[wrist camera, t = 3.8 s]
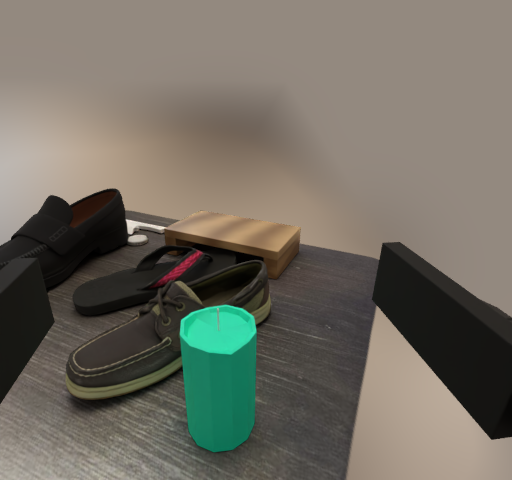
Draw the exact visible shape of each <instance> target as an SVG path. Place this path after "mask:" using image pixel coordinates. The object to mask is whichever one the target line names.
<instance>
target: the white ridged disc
mask: <svg viewBox="0 0 512 480" xmlns="http://www.w3.org/2000/svg"><path fill="white" fill-rule="evenodd" d="M147 242H148V237H147V236H145V235H135V236H131V237H129V238H128V241H127V244H129V245H142V244H145V243H147Z"/></svg>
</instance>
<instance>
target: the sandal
mask: <svg viewBox="0 0 512 480" xmlns="http://www.w3.org/2000/svg"><path fill="white" fill-rule="evenodd" d="M170 251H183V252H189V253H188V254H186V255H185V256H184V257H183V258H182V259H181V260H178V261H174V262H166V263H160V264H156V262H157V261H158V260H159V259H160V258H161V257H162V256H163V255H164V254H166V253H168V252H170ZM236 264H237V261H236V255H235V252H234V251H232V250H228V249H223V248H216V249H212V250H208V251H204V252H200V251H199V250H197V249H194V248H191V247H187V246H174V245H166V246H163V247H160V248H158V249H156V250H155V251H153V252H152V253H150V254H149V255H147V256H146V257H144V258H143V259H142V260H141V261H140V263H139V264H138V266H137V268H133V269H128V270H123V271H119V272H116V273H113V274H111V275H108V276H105V277H101V278H97V279H94V280H91V281H88V282H86V283H84V284H82V285H81V286H79V287H78V288H77V289H76V290H75V292H74V294H73V302H74V304H75V307H76V309H77V310H78V311H79V312H80V313H82V314H84V315H98V314H102V313H106V312H110V311H113V310H117V309H120V308H124V307H128V306H131V305H135V304H138V303H143V302H147V301H150V300H151V299H154V298H155V297H156V296H157V295H158V290H159V289H160V288H162V289H163V288H164V287H165V285H166V284H167V283H168V282H169V281H171V280H174V281H181V282H183V283H184V284H185V283H188V282H191V281H194V280H197V279H199V278H201V277H204V276H207V275H210V274H212V273H215V272H217V271H220V270H222V269H225V268H227V267H230V266H233V265H236Z"/></svg>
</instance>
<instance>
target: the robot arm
mask: <svg viewBox="0 0 512 480" xmlns="http://www.w3.org/2000/svg"><path fill="white" fill-rule="evenodd" d="M372 300H373V301H374V302H375V304H376V305H377V306H378V307H379V308H380V309H381V311H382V312H383V313H384V314H385V315H386V317H388V319H389V320H390V321H391V322H392V324H393V325H394V326H395V327H396V328H397V329H398V331H399V332H400V333H401V334H402V335H403V336H404V338H405V339H406V340H407V341H408V342H409V344H410V345H411V346H412V347H413V348H414V349H415V351H416V352H417V353H418V354H419V355H420V356H421V358H422V359H423V360H424V361H425V362H426V363H427V365H428V366H429V367H430V368H431V369H432V370H433V372H434V373H435V374H436V375H437V376H438V378H439V379H440V380H441V381H442V382H443V383H444V385H445V386H446V387H447V388H448V389H449V390H450V392H451V393H452V394H453V395H454V396H455V397H456V399H457V400H458V401H459V402H460V403H461V404H462V406H463V407H464V408H465V409H466V410H467V411H468V413H469V414H470V415H471V416H472V417H473V419H474V420H475V421H476V422H477V423H478V424H479V426H480V427H481V428H482V429H483V430H484V432H485V433H486V434H487V435H488V436H489V437H490V439H492V440H493V439H500V438H506V437H512V318H511V317H510V316H508V315H507V314H506V313H504V312H503V311H501V310H500V309H498V308H497V307H495V306H492V305H491V304H488V303H486V302H484V301H482V300H480V299H478V298H477V297H475V296H474V295H473V294H471V293H470V292H468V291H467V290H466V289H464V288H463V287H461V286H460V285H459V284H457V283H456V282H454V281H453V280H452V279H450V278H449V277H448V276H446V275H445V274H443V273H442V272H441V271H439V270H438V269H436V268H435V267H434V266H432V265H431V264H429V263H428V262H427V261H425V260H424V259H423V258H421V257H420V256H418V255H417V254H416V253H414V252H413V251H411V250H410V249H409V248H407V247H406V246H404V245H403V244H402V243H400V242H394V243H383V245H382V249H381V255H380V260H379V265H378V270H377V276H376V281H375V286H374V292H373V297H372ZM54 322H55V321H54V318H53V314H52V310H51V306H50V302H49V299H48V295H47V291H46V287H45V283H44V280H43V276H42V272H41V268H40V265H39V261H38V258H19V259H13V260H12V261H11V262H10V263H8V264H7V265H6V266H5V267H4V268H2V269H1V270H0V404H1V402H2V401H3V399H4V398H5V396H6V395H7V393H8V392H9V390H10V389H11V387H12V386H13V384H14V382H15V381H16V379H17V378H18V376H19V375H20V373H21V372H22V370H23V369H24V367H25V366H26V364H27V363H28V361H29V360H30V358H31V357H32V355H33V354H34V352H35V351H36V349H37V348H38V346H39V345H40V343H41V342H42V340H43V339H44V337H45V336H46V334H47V333H48V331H49V329H50V328H51V326H52V325H53V323H54Z"/></svg>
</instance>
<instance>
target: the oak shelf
mask: <svg viewBox="0 0 512 480" xmlns="http://www.w3.org/2000/svg"><path fill="white" fill-rule="evenodd" d="M300 230H301V228H300V227H295V226H290V225H284V224H278V223H272V222H266V221H260V220H254V219H248V218H242V217H237V216H230V215H225V214H219V213H212V212H207V211H199V212H197V213H195V214H193V215H191V216H189V217H187V218H184V219H182V220H180V221H178V222H176V223H174V224H172V225H170V226H168V227H166V228H164V233H165V243H166V245H174V246H187V247H192V246H193V245H195V244H196V243H200V244H204V245H209V246H214V247H218V248H223V249H228V250H232V251H237V252H242V253H246V254H251V255H256V256H260V257H264V263H265V264H266V267H267V274H268V278H272V279H277V278H278V277H279V276H280V274H281V273H282V272H283V271H284V269H285V268H286V267H287V266H288V264H289V263H290V262H291V261H292V259H293V258H294V257H295V256H296V254H297V253H298V252H299V243H300ZM182 252H183V251H170V252H168V253H167V254H171V255H175V256H177V255H179V254H181V253H182Z"/></svg>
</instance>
